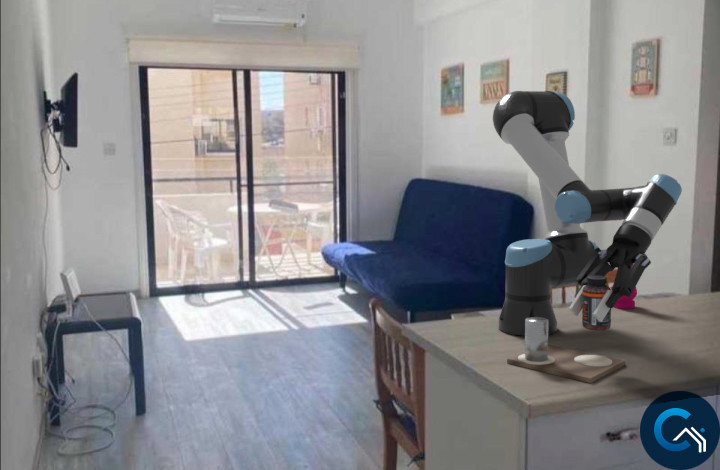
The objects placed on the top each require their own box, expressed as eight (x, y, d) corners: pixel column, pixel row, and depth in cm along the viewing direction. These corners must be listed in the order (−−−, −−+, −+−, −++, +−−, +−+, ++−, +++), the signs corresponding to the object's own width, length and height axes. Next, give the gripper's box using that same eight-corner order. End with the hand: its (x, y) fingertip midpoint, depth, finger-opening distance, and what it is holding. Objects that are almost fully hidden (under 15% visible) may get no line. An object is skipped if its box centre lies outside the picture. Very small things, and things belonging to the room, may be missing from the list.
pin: (520, 359, 157) (520, 320, 155) (532, 354, 160) (532, 316, 159) (540, 364, 153) (540, 324, 152) (552, 358, 157) (552, 319, 155)
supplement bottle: (578, 324, 156) (579, 274, 155) (605, 324, 156) (606, 274, 154) (586, 331, 150) (587, 279, 149) (614, 331, 150) (615, 279, 148)
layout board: (507, 362, 157) (507, 357, 157) (544, 347, 169) (544, 342, 168) (590, 383, 143) (590, 377, 143) (624, 364, 155) (625, 359, 154)
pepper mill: (638, 309, 204) (640, 241, 201) (612, 309, 205) (614, 241, 202) (634, 304, 211) (636, 238, 208) (609, 303, 212) (610, 238, 209)
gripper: (681, 248, 151) (629, 334, 144) (609, 239, 167) (560, 316, 160) (666, 225, 147) (613, 312, 141) (594, 219, 163) (543, 297, 157)
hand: (585, 314), depth 151 cm, fingers closed on supplement bottle, 6 cm apart
